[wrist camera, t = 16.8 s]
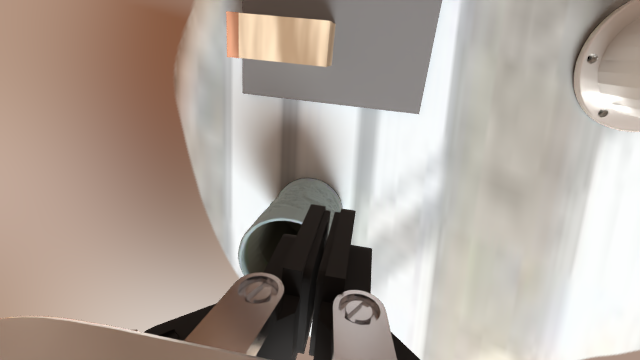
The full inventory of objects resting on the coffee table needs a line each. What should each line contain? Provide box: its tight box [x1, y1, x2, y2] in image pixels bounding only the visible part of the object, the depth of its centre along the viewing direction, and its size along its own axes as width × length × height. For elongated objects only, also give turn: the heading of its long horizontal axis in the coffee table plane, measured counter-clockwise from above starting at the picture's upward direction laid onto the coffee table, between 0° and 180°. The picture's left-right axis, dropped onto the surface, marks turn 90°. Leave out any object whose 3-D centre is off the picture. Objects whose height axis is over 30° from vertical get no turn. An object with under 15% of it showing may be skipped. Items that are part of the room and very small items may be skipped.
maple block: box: [226, 11, 336, 67], centre depth 33 cm, size 4×4×10 cm
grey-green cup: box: [238, 178, 342, 276], centre depth 37 cm, size 10×10×12 cm
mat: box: [243, 0, 442, 114], centre depth 35 cm, size 20×12×1 cm, turn 85°
